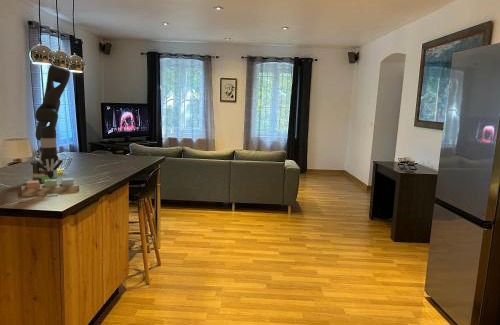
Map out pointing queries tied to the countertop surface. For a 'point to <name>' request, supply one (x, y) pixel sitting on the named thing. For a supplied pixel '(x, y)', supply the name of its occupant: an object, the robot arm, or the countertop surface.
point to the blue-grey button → (67, 181)
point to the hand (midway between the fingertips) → (50, 177)
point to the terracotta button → (32, 184)
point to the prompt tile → (52, 194)
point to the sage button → (50, 183)
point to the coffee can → (39, 172)
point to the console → (49, 189)
